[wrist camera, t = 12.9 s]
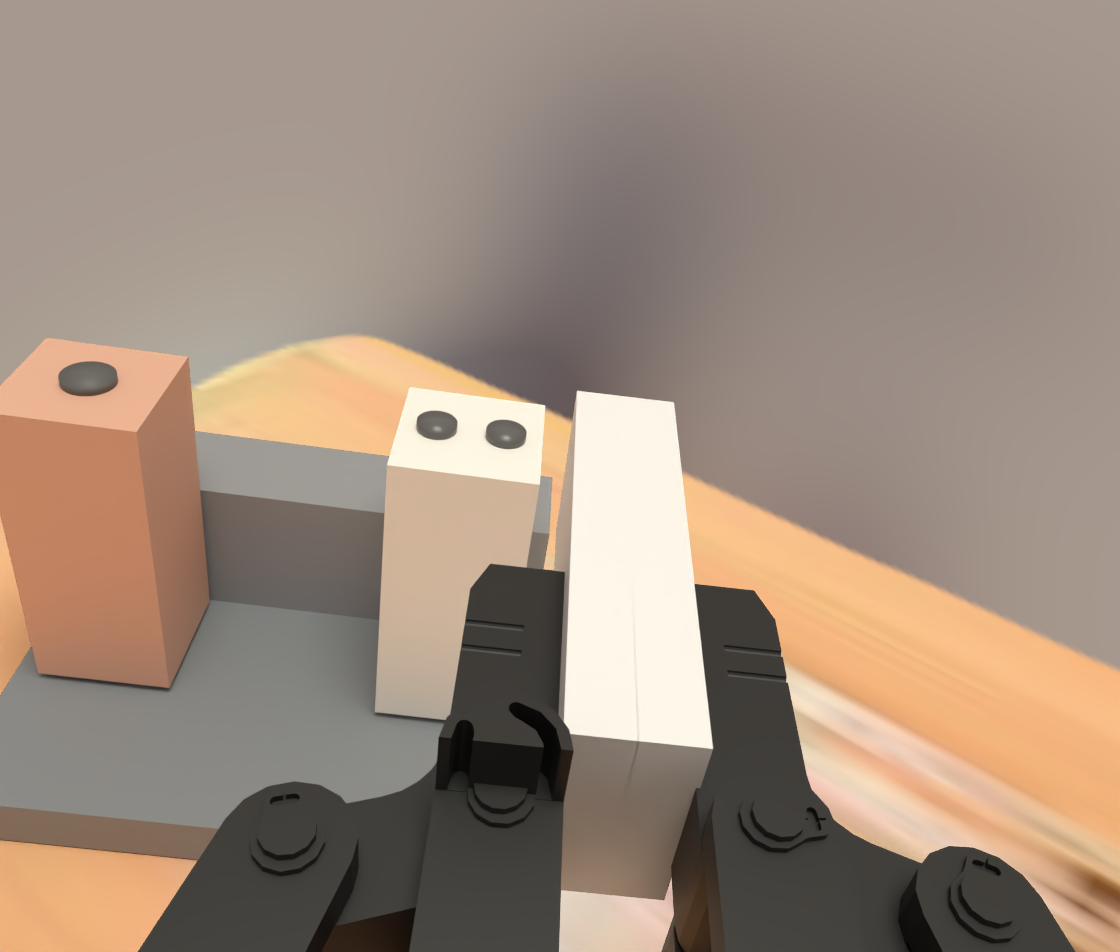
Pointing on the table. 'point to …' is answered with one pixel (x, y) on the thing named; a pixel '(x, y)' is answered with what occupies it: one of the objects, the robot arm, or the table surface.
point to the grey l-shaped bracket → (234, 671)
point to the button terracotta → (104, 510)
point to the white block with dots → (448, 533)
